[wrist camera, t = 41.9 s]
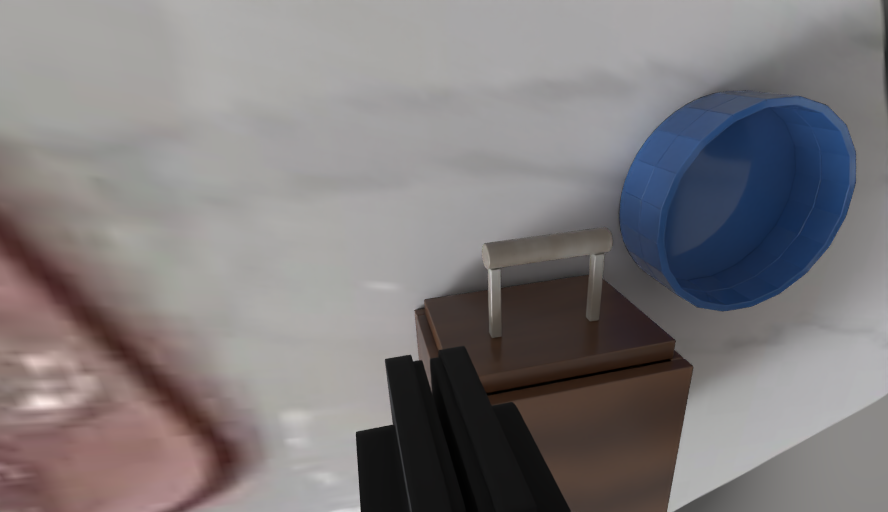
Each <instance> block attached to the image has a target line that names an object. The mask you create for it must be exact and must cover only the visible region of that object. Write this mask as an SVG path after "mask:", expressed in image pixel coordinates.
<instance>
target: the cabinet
mask: <svg viewBox="0 0 888 512" xmlns="http://www.w3.org/2000/svg"><path fill="white" fill-rule="evenodd" d="M415 321H416V331H417V342H418V353H419V360H422V361H423V364H424V367H425V371H426V374H427V378H428V381H429V385H430V388H431V391H432V386H431V374H430V358H436V357H438V348H437V346H436V343H435V340H434V337H433V334H432V332H431V329H430V326H429V323H428V320H427V317H426V315H425V308H424V309H418V310H415ZM643 365H644V366H642V367H637V368H632V369H626V370H621V371H616V372H610V373H605V374H600V375H595V376H589V377H584V378H579V379H574V380H568V381H563V382H558V383H552V384H547V385H542V386H537V387H531V388H526V389H521V390H515V391H510V392H505V393H500V394H494V395H489V396H488V398H489V401H490V403H491V405H492V406H493V405H498V404H503V403H508V402H513V403H514V404H515V405H516V406H517V408H518V410H519V412H520V414H521V415H522V417H523V419H524V421H525V423H526V425H527V427H528V429H529V431H530V433H531V435H532V437H533V439H534V441H535V443H536V444H537V446H538V448H539V450H540V452H541V454H542V456H543V458H544V460H545V462H546V464H547V466H548V468H549V470H550V471H551V473H552V475H553V477H554V479H555V481H556V483H557V485H558V487H559V489H560V491H561V493H562V495H563V497H564V499H565V500H566V502H567V504H568V506H569V508H570V510H571V512H667V508H668V503H669V497H670V492H671V486H672V481H673V475H674V470H675V465H676V459H677V454H678V448H679V443H680V437H681V432H682V426H683V421H684V415H685V410H686V405H687V399H688V394H689V388H690V383H691V377H692V372H693V366H692V365H691V364H690V363H689V362H688V361H687V360H685V359H683V357H682V356H681V355H680V354H678V353H677V352H676V351H675V350H674V355H673V358H671V359H666V360H661V361H655V362H650V363H645V364H643Z"/></svg>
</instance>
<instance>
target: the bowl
mask: <svg viewBox="0 0 888 512" xmlns="http://www.w3.org/2000/svg"><path fill="white" fill-rule="evenodd" d="M855 184H856V151H855V148H854V145H853V142H852V139H851V136H850V133H849V130H848V128H847V126H846V124H845V123H844V122H843V121H842V120H841V119H840V118H839V117H838V116H837V115H836V114H835V113H834V112H833V111H832V110H831V109H830V108H829V107H828V106H827V105H825V104H822V103H819V102H816V101H813V100H810V99H807V98H804V97H801V96H795V95H785V94H776V93H766V92H757V91H747V90H744V91H725V92H719V93H714V94H710V95H707V96H704V97H701V98H699V99H697V100H695V101H692V102H690V103H688V104H687V105H685V106H684V107H682V108H680V109H679V110H677V111H676V112H675V113H673V114H672V115H671V116H669V117H668V118H667V119H666V120H665V121H664V122H663V123H662V124H660V125H659V126H658V127H657V128H656V129H655V130H654V132H653V133H652V134H651V135H650V136H649V138H648V139H647V140H646V141H645V143H644V144H643V146H642V147H641V149H640V150H639V152H638V153H637V155H636V157H635V159H634V161H633V163H632V165H631V167H630V169H629V172H628V174H627V177H626V179H625V183H624V186H623V190H622V194H621V201H620V213H619V219H620V229H621V233H622V237H623V241H624V243H625V246H626V248H627V250H628V252H629V254H630V255H631V257H632V259H633V260H634V261H635V262H636V263H637V264H638V265H639V267H640V268H641V269H642V270H643V271H644V272H646V273H647V274H649V275H650V276H651V277H653V278H654V279H656V280H657V281H658V282H660V283H661V284H663V285H664V286H665V287H667V288H668V289H670V290H671V291H672V292H674V293H675V294H677V295H678V296H680V297H681V298H683V299H685V300H686V301H688V302H689V303H691V304H693V305H694V306H696V307H698V308H704V309H710V310H717V311H730V310H736V309H741V308H747V307H752V306H754V305H757V304H759V303H761V302H763V301H765V300H767V299H769V298H772V297H774V296H776V295H778V294H780V293H781V292H783V291H784V290H785V289H787V288H788V287H789V286H791V285H792V284H793V283H794V282H796V281H797V280H798V279H800V278H801V277H802V276H804V275H805V274H806V273H807V272H808V271H809V270H810V269H811V267H812V266H813V265H814V264H815V263H816V262H817V260H818V259H819V258H820V257H821V256H822V255H823V254H824V252H825V251H826V250H827V249H828V248H829V246H830V245H831V243H832V241H833V239H834V237H835V236H836V234H837V232H838V230H839V228H840V227H841V225H842V223H843V221H844V219H845V218H846V215H847V212H848V209H849V205H850V202H851V198H852V195H853V192H854V188H855Z"/></svg>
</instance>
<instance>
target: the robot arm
mask: <svg viewBox="0 0 888 512" xmlns="http://www.w3.org/2000/svg"><path fill="white" fill-rule="evenodd" d="M385 365H386V373H387V381H388V389H389V397H390V405H391V413H392V420H393V425H389V426H384V427H379V428H374V429H368V430H363V431H358V432H356V444H357V459H358V475H359V490H360V505H361V512H571V510H570V508H569V506H568V504H567V502H566V500H565V499H564V497H563V495H562V493H561V491H560V489H559V487H558V485H557V483H556V481H555V479H554V477H553V475H552V473H551V471H550V470H549V468H548V466H547V464H546V462H545V460H544V458H543V456H542V454H541V452H540V450H539V448H538V446H537V444H536V443H535V441H534V439H533V437H532V435H531V433H530V431H529V429H528V427H527V425H526V423H525V421H524V419H523V417H522V415H521V414H520V412H519V410H518V408H517V406H516V405H515V404H514V403H513V402H508V403H503V404H498V405H493V406H492V405H491V403H490V401H489V398H488V396H487V394H486V392H485V390H484V387H483V385H482V383H481V381H480V378H479V376H478V374H477V372H476V369H475V367H474V365H473V363H472V361H471V358H470V356H469V354H468V352H467V349H466V348H465V346H459V347H453V348H447V349H441V350H439V351H438V357H436V358H430V374H431V386H432V391H431V388H430V385H429V381H428V378H427V374H426V371H425V367H424V364H423V361H422V360H419V361H413V360H412V357H411V355H406V356H400V357H394V358H389V359H385Z"/></svg>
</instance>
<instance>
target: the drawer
mask: <svg viewBox="0 0 888 512" xmlns="http://www.w3.org/2000/svg"><path fill="white" fill-rule="evenodd" d="M612 246H613V238H612V234H611V232H610V230H609V229H608V228H606V227H601V228H594V229H587V230H579V231H572V232H564V233H557V234H549V235H542V236H534V237H527V238H520V239H512V240H505V241H497V242H490V243H484V244H483V246H482V258H483V263H484V266H485V267H486V269H488V290H484V291H478V292H471V293H464V294H458V295H451V296H445V297H438V298H431V299H425V300H424V303H425V315H426V317H427V320H428V323H429V326H430V329H431V332H432V334H433V337H434V340H435V343H436V346H437V348H438V351H439V350H441V349H447V348H453V347H459V346H465V348H466V349H467V352H468V354H469V356H470V358H471V361H472V363H473V365H474V367H475V369H476V372H477V374H478V376H479V378H480V381H481V383H482V385H483V387H484V390H485V392H486V393H492V395H494V394H497V393H496V391H501V390H507V389H512V388H517V387H523V386H528V385H533V384H539V383H544V382H549V381H555V380H560V379H563V380H564V381H568V380H574V379H579V378H584V377H589V376H595V375H600V374H605V373H610V372H616V371H621V370H626V369H632V368H637V367H642V366H644V365H643V364H645V363H650V362H655V361H661V360H666V359H671V358H673V355H674V349H675V343H676V341H675V339H673V338H672V337H671V336H670V335H669V334H667V333H666V332H665V331H664V330H663V329H662V328H660V327H659V326H658V325H657V324H656V323H655V322H653V321H652V320H651V319H650V318H649V317H648V316H646V315H645V314H644V313H643V312H642V311H640V310H639V309H638V308H637V307H636V306H635V305H633V304H632V303H631V302H630V301H629V300H628V299H626V298H625V297H624V296H623V295H622V294H621V293H619V292H618V291H617V290H616V289H615V288H613V287H612V286H611V285H610V284H609V283H608V282H606V281H605V280H604V279H603V267H604V253H605V252H609V251H610V250H611V249H612ZM585 255H590V266H589V275H583V276H577V277H570V278H563V279H557V280H550V281H544V282H537V283H530V284H524V285H517V286H511V287H504V288H501V267H508V266H515V265H522V264H529V263H536V262H543V261H550V260H557V259H564V258H571V257H578V256H585Z"/></svg>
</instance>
